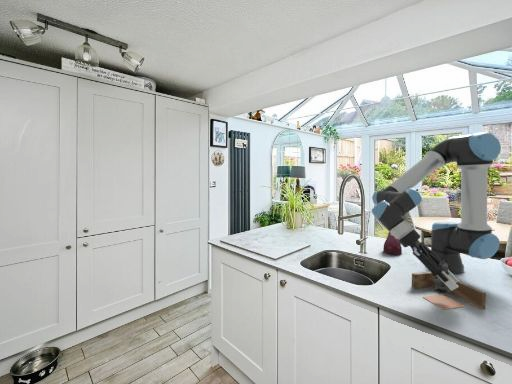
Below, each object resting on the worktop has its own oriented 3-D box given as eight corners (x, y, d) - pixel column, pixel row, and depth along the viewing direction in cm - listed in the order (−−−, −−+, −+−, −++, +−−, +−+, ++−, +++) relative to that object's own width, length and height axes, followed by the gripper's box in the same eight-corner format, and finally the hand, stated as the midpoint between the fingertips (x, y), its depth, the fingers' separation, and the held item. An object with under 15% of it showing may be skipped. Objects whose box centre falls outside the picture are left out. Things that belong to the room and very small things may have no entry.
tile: (442, 294, 99) (442, 294, 99) (465, 306, 90) (465, 306, 90) (422, 297, 98) (422, 296, 98) (443, 309, 89) (443, 308, 89)
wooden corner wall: (436, 284, 108) (436, 270, 108) (485, 309, 89) (486, 292, 88) (411, 286, 106) (411, 273, 106) (456, 312, 87) (457, 296, 86)
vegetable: (381, 255, 156) (376, 231, 159) (399, 253, 154) (393, 229, 157) (387, 256, 146) (381, 230, 148) (406, 254, 144) (400, 228, 147)
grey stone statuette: (433, 286, 98) (434, 256, 97) (452, 290, 94) (454, 259, 93) (431, 291, 93) (433, 260, 92) (451, 296, 89) (453, 264, 89)
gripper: (402, 235, 109) (447, 282, 100) (392, 244, 95) (443, 300, 86) (416, 224, 105) (465, 272, 96) (408, 233, 91) (464, 289, 82)
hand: (455, 285), depth 91 cm, fingers closed on grey stone statuette, 5 cm apart
